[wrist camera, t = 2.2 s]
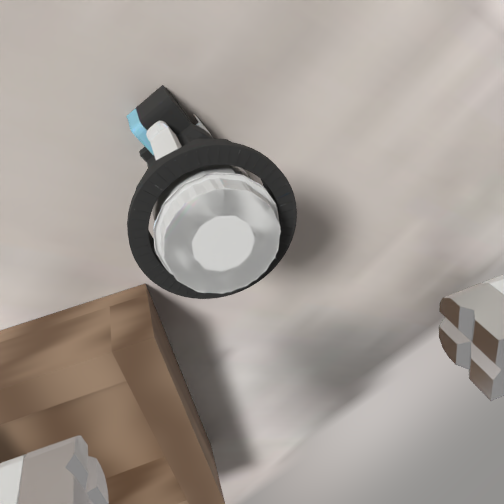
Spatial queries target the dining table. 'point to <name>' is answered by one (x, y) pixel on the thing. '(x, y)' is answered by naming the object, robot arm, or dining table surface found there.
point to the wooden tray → (108, 399)
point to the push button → (204, 206)
